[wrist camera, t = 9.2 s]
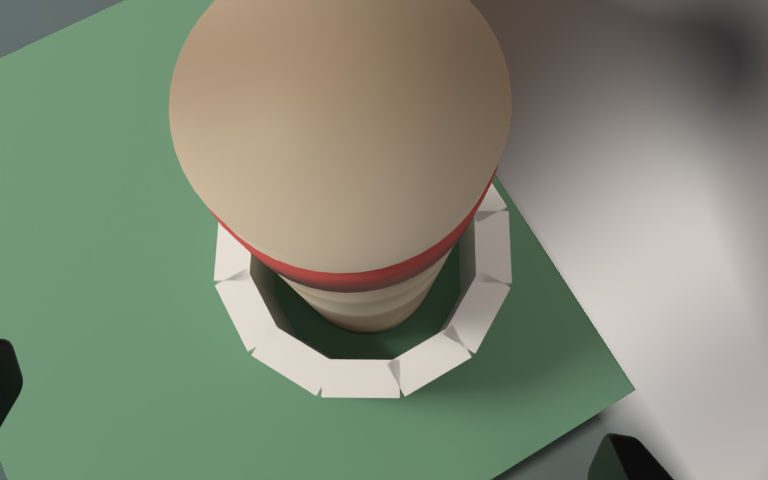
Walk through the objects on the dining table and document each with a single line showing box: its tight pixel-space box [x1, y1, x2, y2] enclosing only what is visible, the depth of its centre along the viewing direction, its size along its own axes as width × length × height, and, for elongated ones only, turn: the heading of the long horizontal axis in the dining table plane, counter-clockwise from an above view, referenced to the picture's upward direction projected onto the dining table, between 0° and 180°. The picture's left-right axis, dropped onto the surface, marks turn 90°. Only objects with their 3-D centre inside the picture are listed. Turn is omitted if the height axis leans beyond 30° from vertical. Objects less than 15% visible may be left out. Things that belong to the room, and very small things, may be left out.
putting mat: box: [0, 0, 635, 480], centre depth 20 cm, size 22×19×1 cm
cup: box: [214, 183, 512, 398], centre depth 18 cm, size 8×8×4 cm
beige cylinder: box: [169, 0, 512, 334], centre depth 13 cm, size 4×4×12 cm
